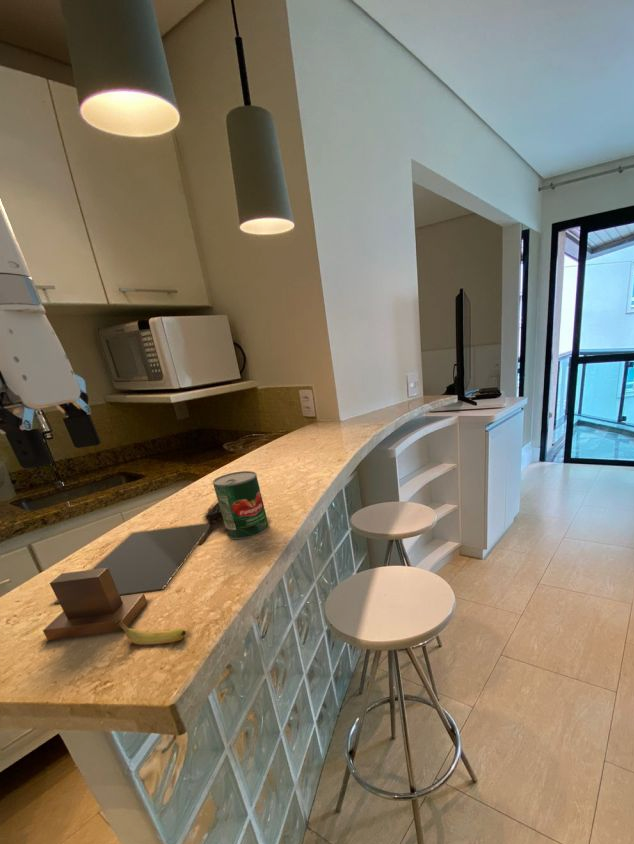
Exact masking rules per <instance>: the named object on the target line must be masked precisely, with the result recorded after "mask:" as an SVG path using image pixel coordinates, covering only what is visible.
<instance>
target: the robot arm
mask: <svg viewBox="0 0 634 844" xmlns="http://www.w3.org/2000/svg"><path fill="white" fill-rule="evenodd" d="M11 224H12V223H11V222H10V219H9V217H8V215H7V212H6V210H5V207H4V205H3V202H2V200H1V198H0V434H1V435H5V437H6V439H7V441H8V443H9V445H10V447H11V450H12V451H13V454H14V456H15V457H16V459H17V462H18V464H19V466H20V467H21V468H22V469H32V468H39V467H45V466H50V465H53V463H54V459H53V457H52V455H51V453H50V451H49V449H48V446H47V444H46V442H45V440H44V438H43V434H42V433H41V431H40V429H39V428H33V425H34V416H35V410H40V409H45V408H50V407H55V408H56V409H57V410H59V411H60V412H61V413H62V414H63V415H64V416H65V417H62V421H63V423H64V426H65V428H66V431H67V433H68V435H69V438H70V439H71V442H72V444H73V446H74V447H75V448H77V449H80V448H81V449H82V448H88V447H94V446H95V447H96V446H99V445H101V443H102V441H101V439H100V437H99V434H98V431H97V429H96V427H95V424H94V421H93V419H92V416H91V414H92V413H91V412H92V411H91V407H90V406H89V395H88V394H87V387H86V381H85V379H84V378H83V377H82V376H80V375H78V374H76V373H75V372H74V369H73V367H72V365H71V362H70V360H69V358H68V355H67V354H66V352H65V350H64V348H63V345H62V343H61V341H60V339H59V337H58V336H57V334H56V331H55V329H54V328H53V326H52V324H51V323H50V321H49V319H48V317H47V316H46V313H47V312H46V309H45V305H44V304H43V301H42V299H41V295H40V294H39V291H38V288H37V287H36V284H35V281H34V279H33V276H32V274H31V272H30V269H29V266H28V264H27V261H26V259H25V257H24V254H23V251H22V249H21V247H20V244H19V242H18V239H17V237H16V235H15V232H14V230H13V227H12V225H11ZM16 414H18V416H17V415H16Z"/></svg>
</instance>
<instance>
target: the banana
mask: <svg viewBox="0 0 634 844" xmlns="http://www.w3.org/2000/svg"><path fill="white" fill-rule="evenodd" d="M115 625H117V626H118V625H119V626H120V627H121V628H122V629H123V630H122V631H124V633H125V634H126V638H127V639H128V640H129V642H131V643H133V644H135V645H141V646H142V645H144V646H145V645H147V646H148V645H161V644H170V643H175V642H179V641H181V640H183V638H184V637H185V635H186V631H185V629H183V628H173V629H168V630H158V631H144V630H140V629H134V628H130V627H127V626H126V625H125V624H124V623H123V620H121V619H120V620H119V621H116V622H115Z"/></svg>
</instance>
